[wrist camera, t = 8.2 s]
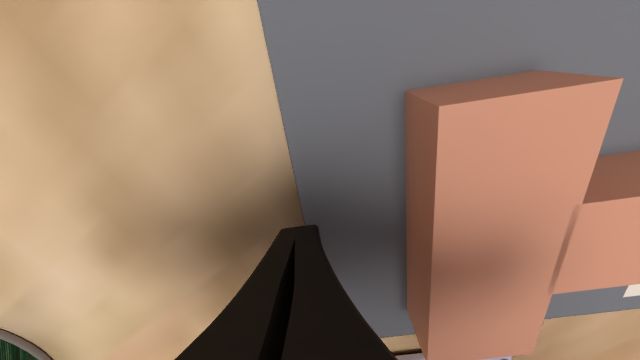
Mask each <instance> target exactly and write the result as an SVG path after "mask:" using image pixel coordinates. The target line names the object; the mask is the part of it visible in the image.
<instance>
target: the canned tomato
mask: <svg viewBox="0 0 640 360" xmlns="http://www.w3.org/2000/svg"><path fill="white" fill-rule="evenodd" d="M0 360H51V359H50V358H49V357H48V356H47V355H46V354H45V353H44V352H43V351H42V350H40V349H39V348H37V347H36V346H35V345H33V344H31V343H30V342H28V341H26V340H24V339H22V338H21V337H18V336H16V335H14V334H11V333H9V332H7V331H4V330H1V329H0Z"/></svg>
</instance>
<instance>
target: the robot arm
mask: <svg viewBox="0 0 640 360" xmlns="http://www.w3.org/2000/svg"><path fill="white" fill-rule="evenodd" d="M511 359H512V356H509V357H500V358H491V359H481V360H511ZM175 360H425V358H424V355H423V353H417V354H408V355H399V356H394V355H393V354H392V353H391V351H390V350H389V349H388V348H387V347H386V345H385V344H384V343H383V342H382V340H381V339H380V338H379V337H378V335H377V334H376V333H375V332H374V331H373V329H372V328H371V327H370V326H369V324H368V323H367V322H366V320H365V319H364V318H363V316H362V315H361V314H360V312H359V311H358V309H357V308H356V307H355V305H354V304H353V302H352V301H351V299H350V298H349V296H348V295H347V293H346V291H345V290H344V288H343V287H342V285H341V283H340V281H339V280H338V278H337V276H336V274H335V273H334V271H333V269H332V267H331V265H330V263H329V261H328V258H327V256H326V254H325V252H324V249H323V247H322V244H321V238H320V233H319V228H318V226H316V225H307V226H300V227H293V228H286V229H282V230H281V231H280V232H279V234H278V235H277V237H276V238H275V240H274V242H273V243H272V245H271V246H270V248H269V250H268V251H267V253H266V254H265V256H264V257H263V259H262V260H261V262H260V263H259V265H258V266H257V267H256V269H255V270H254V272H253V273H252V275H251V276H250V277H249V279H248V280H247V281H246V283H245V284H244V285H243V286H242V288H241V289H240V290H239V292H238V293H237V294H236V296H235V297H234V298H233V299H232V300H231V302H230V303H229V304H228V305H227V306H226V308H225V309H224V310H223V311H222V312H221V313H220V314H219V316H218V317H217V318H216V319H215V320H214V321H213V322H212V323H211V324H210V325H209V326H208V327H207V328H206V329H205V330H204V331H203V332H202V333H201V334H200V335H199V336H198V337H197V338H196V339H195V340H194V341H193V342H192V343H191V344H190V345H189V346H188V347H187V348H186V349H185V350H184V351H183V352H182V353H181V354H180V355H179V356H178V357H177V358H176V359H175Z"/></svg>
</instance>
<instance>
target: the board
mask: <svg viewBox="0 0 640 360" xmlns="http://www.w3.org/2000/svg"><path fill="white" fill-rule="evenodd" d="M257 2H258V7H259V11H260V16H261V21H262V26H263V30H264V35H265V40H266V44H267V49H268V54H269V59H270V63H271V68H272V73H273V77H274V82H275V87H276V92H277V96H278V101H279V106H280V110H281V115H282V120H283V125H284V129H285V134H286V139H287V143H288V148H289V153H290V158H291V162H292V167H293V172H294V176H295V181H296V186H297V191H298V195H299V200H300V205H301V209H302V214H303V219H304V224H305V226H307V225H316V226H318V228H319V233H320V238H321V244H322V247H323V249H324V252H325V254H326V256H327V258H328V261H329V263H330V265H331V267H332V269H333V271H334V273H335V274H336V276H337V278H338V280H339V281H340V283H341V285H342V287H343V288H344V290H345V291H346V293H347V295H348V296H349V298H350V299H351V301H352V302H353V304H354V305H355V307H356V308H357V309H358V311H359V312H360V314H361V315H362V316H363V318H364V319H365V320H366V322H367V323H368V324H369V326H370V327H371V328H372V329H373V331H374V332H375V333H376V334H377V335H378V337H379V338H384V337H393V336H402V335H411V334H416V333H415V330H414V327H413V325H412V322H411V319H410V316H409V313H408V311H407V248H406V130H405V91H408V90H414V89H421V88H427V87H434V86H440V85H446V84H453V83H459V82H465V81H472V80H478V79H485V78H491V77H497V76H504V75H510V74H516V73H523V72H529V71H536V70H541V71H552V72H563V73H574V74H584V75H595V76H606V77H616V78H624V79H623V82H622V85H621V88H620V91H619V94H618V97H617V100H616V103H615V106H614V109H613V112H612V115H611V118H610V121H609V124H608V127H607V130H606V133H605V136H604V139H603V142H602V145H601V148H600V151H599V154H598V156H605V155H612V154H619V153H626V152H633V151H640V0H257ZM638 308H640V284H635V285H627V286H619V287H610V288H602V289H593V290H585V291H576V292H568V293H559V294H552V297H551V300H550V303H549V306H548V309H547V312H546V315H545V318H544V319H551V318H559V317H568V316H577V315H586V314H594V313H603V312H612V311H621V310H629V309H638Z"/></svg>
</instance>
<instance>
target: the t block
mask: <svg viewBox="0 0 640 360" xmlns="http://www.w3.org/2000/svg"><path fill="white" fill-rule="evenodd" d="M623 79H624V78H616V77H606V76H595V75H584V74H574V73H563V72H552V71H541V70H536V71H529V72H523V73H516V74H510V75H504V76H497V77H491V78H485V79H478V80H472V81H465V82H459V83H453V84H446V85H440V86H434V87H427V88H421V89H414V90H408V91H405V130H406V248H407V311H408V313H409V316H410V319H411V322H412V325H413V327H414V330H415V333H416V336H417V339H418V341H419V344H420V347H421V350H422V353H423V355H424V358H425V360H481V359H491V358H500V357H509V356H518V355H527V354H533V351H534V348H535V345H536V342H537V339H538V336H539V333H540V330H541V327H542V324H543V321H544V318H545V315H546V312H547V309H548V306H549V303H550V300H551V297H552V294H559V293H568V292H576V291H585V290H593V289H602V288H610V287H619V286H627V285H635V284H640V151H633V152H626V153H619V154H612V155H605V156H598V154H599V151H600V148H601V145H602V142H603V139H604V136H605V133H606V130H607V127H608V124H609V121H610V118H611V115H612V112H613V109H614V106H615V103H616V100H617V97H618V94H619V91H620V88H621V85H622V82H623Z"/></svg>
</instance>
